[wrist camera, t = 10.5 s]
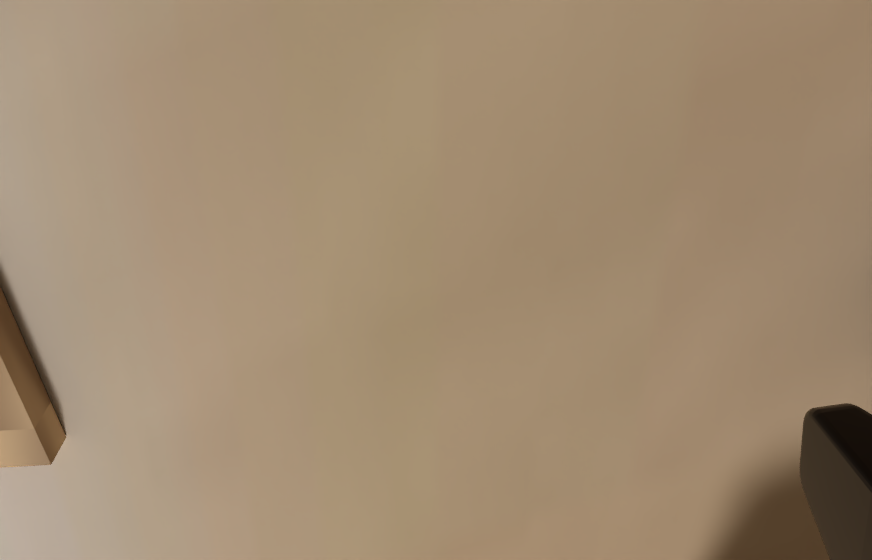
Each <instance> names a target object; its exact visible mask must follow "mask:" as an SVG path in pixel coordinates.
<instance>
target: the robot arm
mask: <svg viewBox="0 0 872 560" xmlns="http://www.w3.org/2000/svg"><path fill="white" fill-rule="evenodd" d="M800 478H801V483H802V487H803V490H804V493H805V496H806V499H807V501H808V504H809V506H810V509H811V511H812V514H813V516H814V519H815V522H816V524H817V527H818V529H819V532H820V534H821V537H822V540H823V542H824V545H825V547H826V550H827V552H828V555H829V557H830V560H872V415H871V414H870V413H868V412H866V411H865V410H863V409H861V408H860V407H858V406H855V405H852V404H838V405H831V406H824V407H817V408H812V409H810V410H809V411H808V412H807V413H806V415H805V417H804V422H803V433H802V445H801V457H800Z"/></svg>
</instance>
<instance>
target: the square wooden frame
mask: <svg viewBox="0 0 872 560" xmlns="http://www.w3.org/2000/svg"><path fill="white" fill-rule="evenodd" d="M65 439H66V436H65V433H64V431H63V429H62V427H61V424H60V422H59V420H58V417H57V415H56V413H55V410H54V408H53V406H52V404H51V401H50V399H49V397H48V394H47V392H46V390H45V388H44V385H43V383H42V381H41V378H40V376H39V374H38V372H37V369H36V367H35V365H34V362H33V360H32V358H31V356H30V353H29V351H28V349H27V346H26V344H25V342H24V340H23V337H22V335H21V333H20V330H19V328H18V326H17V324H16V321H15V319H14V317H13V314H12V312H11V310H10V308H9V305H8V303H7V301H6V298H5V296H4V294H3V291H2V289H1V287H0V467H18V466H35V465H51V464H52V462H53V460H54V458H55V456H56V455H57V453H58V451H59V449H60V448H61V446H62V444H63V442H64V440H65Z"/></svg>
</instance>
